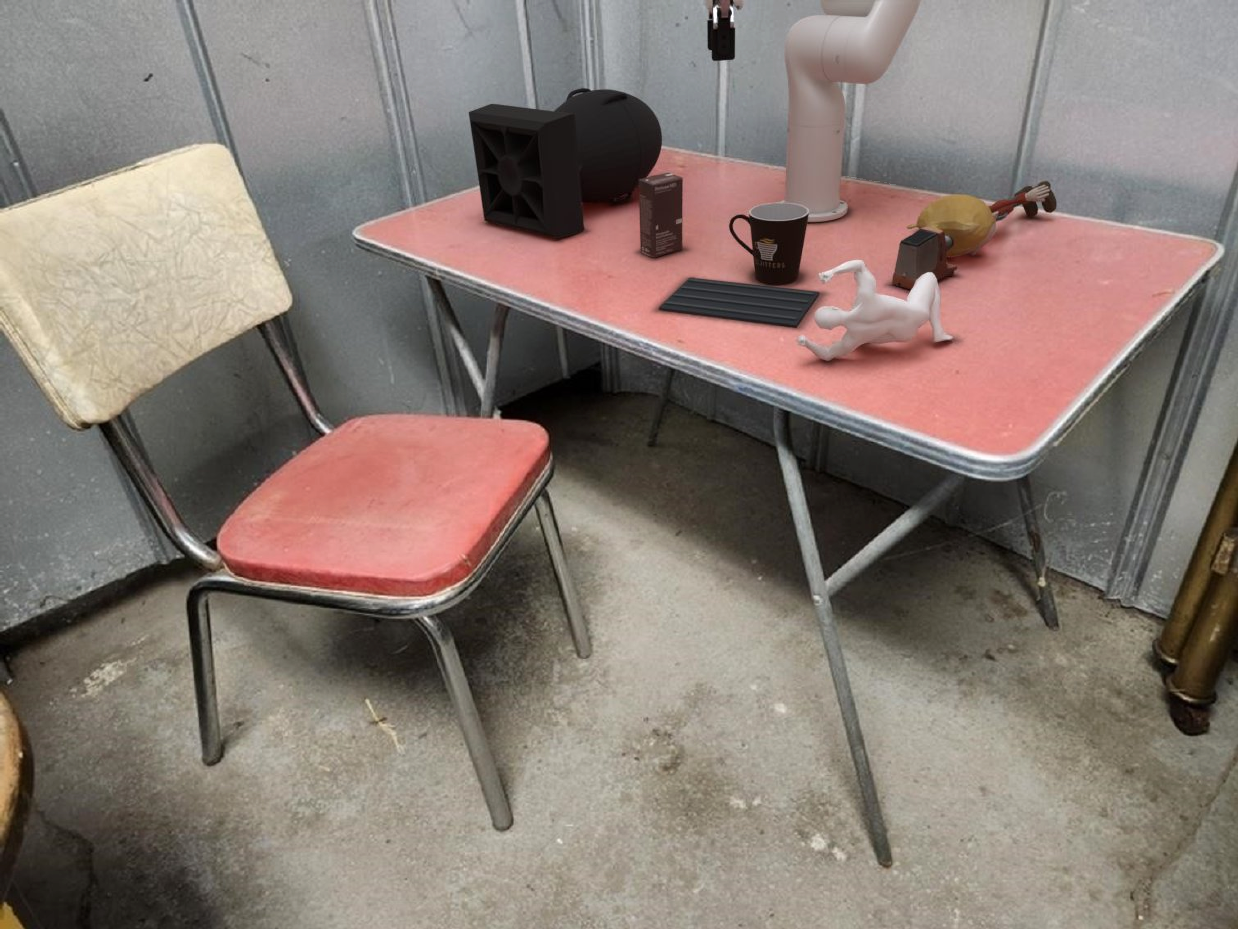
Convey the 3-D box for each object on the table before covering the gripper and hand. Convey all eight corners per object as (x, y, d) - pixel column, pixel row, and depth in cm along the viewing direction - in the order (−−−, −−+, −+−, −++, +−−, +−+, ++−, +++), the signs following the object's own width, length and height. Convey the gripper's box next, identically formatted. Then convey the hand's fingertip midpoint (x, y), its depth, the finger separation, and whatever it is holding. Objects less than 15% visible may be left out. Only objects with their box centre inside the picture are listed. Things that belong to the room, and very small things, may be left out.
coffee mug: (817, 278, 130) (821, 212, 125) (771, 292, 127) (774, 224, 121) (768, 257, 139) (770, 194, 133) (724, 270, 136) (724, 206, 130)
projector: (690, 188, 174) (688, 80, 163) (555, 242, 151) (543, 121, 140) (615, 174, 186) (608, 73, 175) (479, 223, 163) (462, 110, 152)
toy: (984, 236, 155) (884, 282, 139) (970, 181, 153) (868, 221, 137) (1114, 202, 137) (1016, 252, 121) (1100, 139, 135) (999, 181, 119)
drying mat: (689, 279, 133) (689, 275, 133) (819, 294, 125) (819, 289, 125) (658, 309, 124) (658, 305, 124) (796, 327, 116) (796, 322, 116)
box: (655, 259, 141) (652, 184, 135) (639, 252, 145) (636, 178, 138) (685, 250, 144) (683, 176, 138) (669, 243, 147) (667, 171, 141)
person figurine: (892, 237, 112) (823, 255, 99) (983, 278, 106) (922, 302, 93) (855, 328, 119) (786, 355, 106) (938, 371, 113) (876, 405, 100)
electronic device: (957, 275, 128) (965, 224, 124) (915, 293, 123) (921, 241, 119) (932, 267, 131) (938, 218, 127) (890, 285, 126) (895, 234, 122)
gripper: (755, -87, 109) (753, 62, 118) (742, -89, 123) (741, 43, 133) (695, -82, 109) (697, 66, 119) (689, -85, 124) (692, 47, 133)
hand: (720, 54), depth 126 cm, fingers open, 9 cm apart
